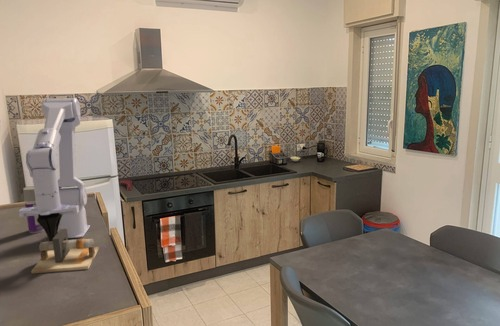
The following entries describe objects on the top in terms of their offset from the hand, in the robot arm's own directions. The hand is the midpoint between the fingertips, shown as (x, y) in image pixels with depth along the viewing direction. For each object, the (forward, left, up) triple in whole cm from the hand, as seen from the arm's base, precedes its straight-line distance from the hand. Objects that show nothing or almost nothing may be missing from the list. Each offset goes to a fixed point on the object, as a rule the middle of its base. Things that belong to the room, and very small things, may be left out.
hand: (53, 239), depth 101 cm
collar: (0, +2, -5) cm, 6 cm away
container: (-24, -14, -7) cm, 28 cm away
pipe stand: (0, +3, -6) cm, 7 cm away
